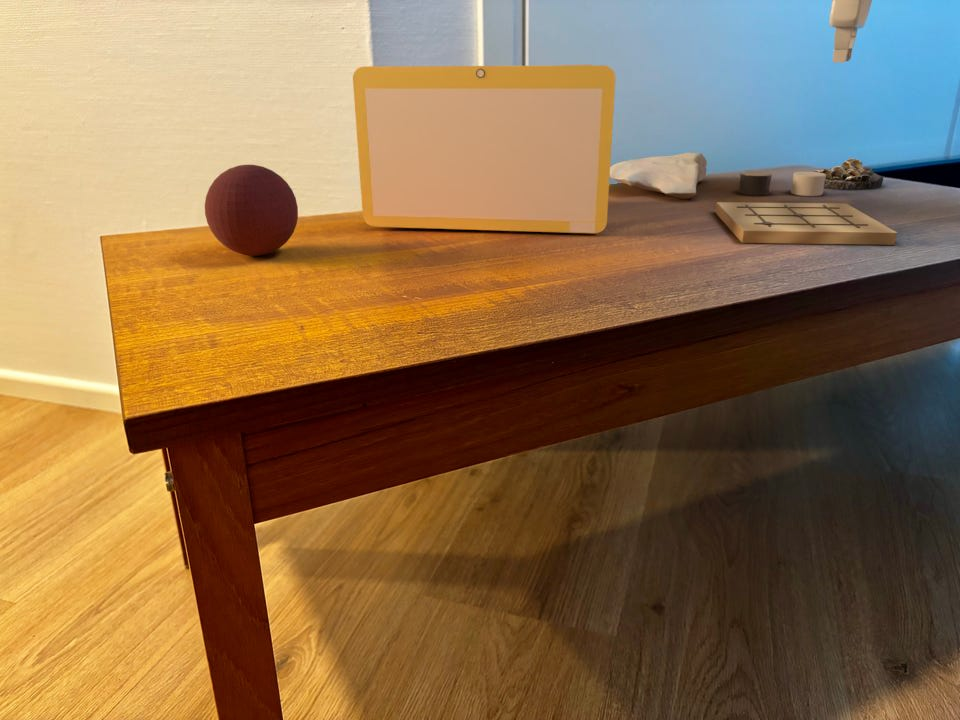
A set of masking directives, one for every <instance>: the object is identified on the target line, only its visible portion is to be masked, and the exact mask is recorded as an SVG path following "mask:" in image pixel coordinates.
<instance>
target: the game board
mask: <svg viewBox="0 0 960 720" xmlns="http://www.w3.org/2000/svg"><path fill="white" fill-rule="evenodd" d="M715 215H717V217H718V218H719V219H720V220H721V221H722V222H723V223H724V224H725V226H726V227H727V228H728V229H729V230H730V231H731V233H733V235H734V236H735V237H736V239H738V241H740V243H742V244H783V245H784V244H786V245H787V244H788V245H789V244H792V245H798V244H799V245H863V246H864V245H866V246H867V245H868V246H896V245H895V244H896V240H897V234H898V232H897V231H896V230H893V228H891V227H888V226H886V225H885V224H883V223H882V222H880V221H878V220H876V219H875V218H873V217H872V216H869V215H867V214H866V213H863V212H862V211H860V210H859V209H857V208H855V207H853V206H851V205H850V204H848V203H846V202H842V203H841V202H736V201H735V202H731V201H730V202H729V201H727V202H725V201H724V202H723V201H720V202H719V201H718V202H716V205H715Z"/></svg>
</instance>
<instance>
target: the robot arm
mask: <svg viewBox="0 0 960 720" xmlns="http://www.w3.org/2000/svg"><path fill="white" fill-rule="evenodd" d="M872 2H873V0H832V2H831V7H830V14H829V26H830V27H831V28H835V30H834V39H833V40H834V42H833V54H832V62H833V63H834V64H843V63H845V62H849V61H850V60H851V59H852V55H853V49H854V45H855V42H856V39H857V34H858V29H863V28H864V27H865V25H866V22H867V18H868V16H869V13H870V9H871V6H872V4H873V3H872Z"/></svg>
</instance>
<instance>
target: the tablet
mask: <svg viewBox="0 0 960 720" xmlns="http://www.w3.org/2000/svg"><path fill="white" fill-rule="evenodd" d="M352 87H353V99H354V101H353V102H354V114H355V125H356V126H355V127H356V128H355V129H356V141H357V157H358V169H359V171H358V172H359V182H360V183H359V184H360V199H361V211H362V218H363V220H364V222H365V223H366V224H367V225H368V226H370V227H375V228H377V227H379V228H408V229H409V228H410V229H439V230H440V229H443V230H472V231H473V230H475V231H476V230H477V231H503V232H507V231H508V232H541V233H567V234H568V233H569V234H571V233H572V234H599V233H602V232H603V231H604V230H605V229H606V227H607V224H608V211H609V210H608V209H609V194H610V193H609V192H610V180H611V179H610V178H611V177H610V166H611V163H612V162H611V161H612V146H613V145H612V141H613V130H614V129H613V127H614V126H613V125H614V110H615V93H616V73H615V71H614V70H613V68H612V67H610V66H608V65H603V64H602V65H601V64H600V65H599V64H598V65H596V64H594V65H592V64H555V65H554V64H553V65H550V64H549V65H401V66H400V65H399V66H398V65H396V66H395V65H393V66H392V65H389V66H388V65H387V66H384V65H383V66H382V65H381V66H379V65H378V66H374V65H373V66H367V65H366V66H365V65H364V66H360V67H358V68H357V69H356V70H354V72H353V75H352Z"/></svg>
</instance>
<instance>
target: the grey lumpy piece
mask: <svg viewBox="0 0 960 720" xmlns="http://www.w3.org/2000/svg"><path fill="white" fill-rule="evenodd" d="M812 172H819V173H824V174H826V178H825V184H824V189H833V190H847V191H849V190H852V191H853V190H875V189H878V188H881V187H882V185H883V181H884V176H883V175H879V174H877V173H875V172H873V170H872V167H870V166H864V167H863V161H861V160H859V159H857V158H847V160H845V161H843V162H842V164H841V165H836V166H833V167H832V168H829V169H828V168H824V169H823V170H822V169H816V170H813V171H812Z"/></svg>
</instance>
